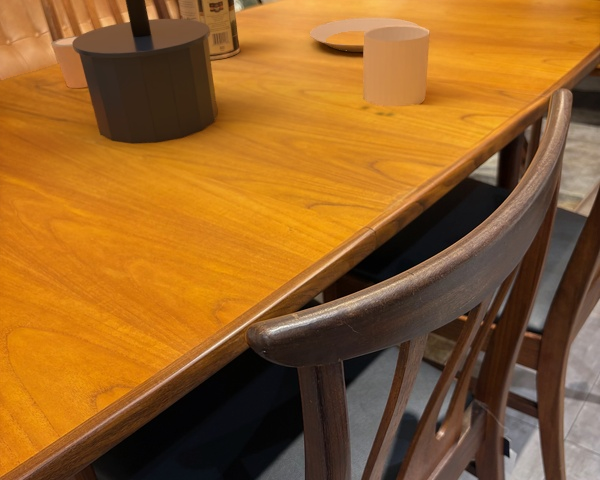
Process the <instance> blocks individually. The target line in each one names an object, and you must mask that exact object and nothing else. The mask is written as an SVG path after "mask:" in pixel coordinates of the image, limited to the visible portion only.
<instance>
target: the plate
mask: <svg viewBox="0 0 600 480" xmlns="http://www.w3.org/2000/svg"><path fill="white" fill-rule="evenodd" d="M386 25H414V26H420V25H419V24H417V23H415V22H414V21H413V22H412V21H409V20H405V19H400V18H392V17H356V18H346V19H340V20H334V21H330V22H325V23H322V24H320V25H317V26H315V27H314V28H312V29H311V30H310V32H309V36H310V38H312V39H313V40H314V41H317V42H319V43H322V44H324V45H326V46H328V47H330V48H332V47H333V48H332V49H334V50H338V51H343V52H350V53H351V52H352V53H363V51H364V45H345V44H334V43H328V42H326V39H327V38H328V37H330V36H332V35H334V34H338V33H341V32H348V31H366V30H368V29H371V28H374V27H379V26H386ZM339 49H340V50H339ZM345 50H347V51H345Z"/></svg>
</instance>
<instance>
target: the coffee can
mask: <svg viewBox="0 0 600 480" xmlns="http://www.w3.org/2000/svg"><path fill="white" fill-rule="evenodd" d="M177 1H178V2H177V3H178V6H179V12H180V13H179V14H180V17H181V18H180V19H186V20H194V21H199V22H202V23H205V24H206V25H208V26H209V28H210V36H209V37H208V38H207V39H208V46H209V53H210V61H216V60H222V59H227V58H231V57H233V56H236V55H237V54H239V53H240V52H241V48H240V43H239V42H240V41H239V34H238V33H239V32H238V24H237V17H236V8H235V0H177Z"/></svg>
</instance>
